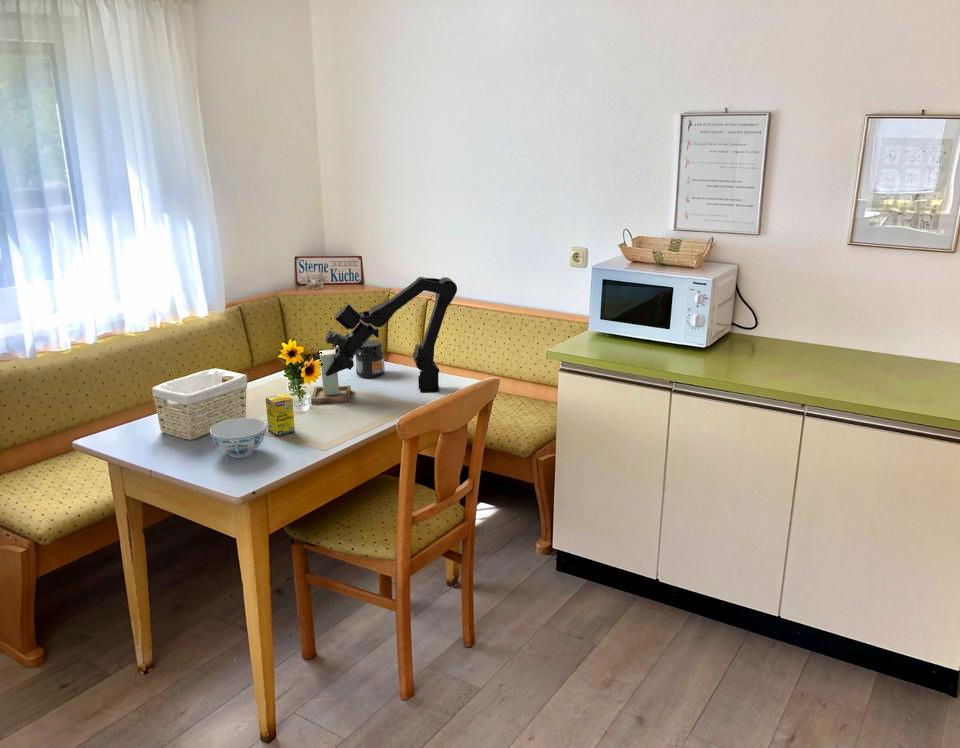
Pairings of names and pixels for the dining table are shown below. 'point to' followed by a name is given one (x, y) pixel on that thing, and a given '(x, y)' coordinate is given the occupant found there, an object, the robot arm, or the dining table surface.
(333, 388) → the tea tin
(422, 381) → the robot arm
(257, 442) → the chinaware
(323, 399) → the walnut tray
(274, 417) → the supplement box
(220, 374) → the storage basket
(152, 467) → the dining table surface
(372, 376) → the supplement container
